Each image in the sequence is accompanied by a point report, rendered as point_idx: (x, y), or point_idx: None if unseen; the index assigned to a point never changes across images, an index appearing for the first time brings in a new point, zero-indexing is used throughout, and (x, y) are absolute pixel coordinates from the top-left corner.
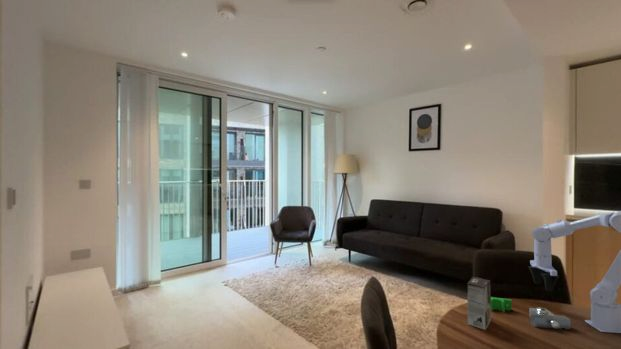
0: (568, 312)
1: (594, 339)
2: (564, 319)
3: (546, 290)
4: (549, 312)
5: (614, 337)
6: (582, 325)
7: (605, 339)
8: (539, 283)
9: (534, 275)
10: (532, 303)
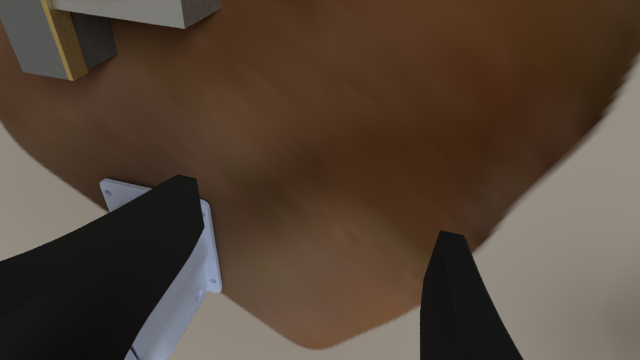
0: (318, 213)
1: (5, 85)
2: (5, 28)
3: (183, 177)
4: (108, 2)
5: (76, 188)
6: (156, 153)
7: (34, 137)
8: (428, 275)
9: (450, 352)
10: (490, 87)
